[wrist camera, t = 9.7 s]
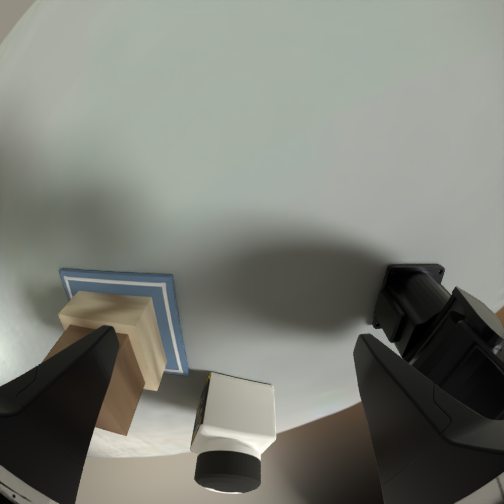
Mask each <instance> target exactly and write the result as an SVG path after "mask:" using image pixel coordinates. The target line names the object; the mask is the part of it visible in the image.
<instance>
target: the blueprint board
mask: <svg viewBox="0 0 504 504" xmlns="http://www.w3.org/2000/svg"><path fill="white" fill-rule="evenodd" d="M59 272H60V275H61V279H62V282H63V285H64V288H65V291H66V294H67V297H68V300H69V301H70V300H71V299H72V298H73V297H74V295H75V294H76V293H77V292H78V291H88V292H98V293H108V294H120V295H132V296H145V297H152V301H153V305H154V310H155V315H156V319H157V324H158V328H159V332H160V336H161V340H162V344H163V348H164V352H165V356H166V359H167V364H166V366H165V369H164V372H163V373H166V374H174V375H183V376H189V368H188V363H187V359H186V354H185V349H184V344H183V338H182V333H181V327H180V322H179V316H178V310H177V304H176V297H175V291H174V284H173V277H172V275H171V274H148V273H127V272H108V271H91V270H75V269H61V270H60V271H59Z"/></svg>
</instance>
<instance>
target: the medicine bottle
mask: <svg viewBox="0 0 504 504" xmlns="http://www.w3.org/2000/svg"><path fill="white" fill-rule="evenodd" d="M275 439H276V422H275V400H274V387H273V386H272V385H268V384H263V383H258V382H253V381H248V380H244V379H239V378H235V377H230V376H226V375H222V374H218V373H214V372H211V373H210V374H209V376H208V379H207V381H206V384H205V387H204V390H203V392H202V395H201V398H200V401H199V403H198V408H197V413H196V419H195V424H194V430H193V435H192V441H191V447H190V450H191V451H192V452H194V453H198V456H197V463H196V470H195V477H194V479H195V481H196V482H197V483H198V484H199V485H201V486H202V487H204V488H206V489H208V490H212V491H215V492H220V493H233V494H236V493H245V492H249V491H252V490H255V489H257V488H258V487H259V486H260V484H261V454H262V453H263V452H264V451H265V450H266V449H267V448H268V447H269V446H270V445H271V443H273V442H274V441H275Z"/></svg>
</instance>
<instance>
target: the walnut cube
mask: <svg viewBox="0 0 504 504" xmlns="http://www.w3.org/2000/svg"><path fill="white" fill-rule="evenodd" d="M94 330H96V329H91V328H86V327H80V326H75V325H69V326H68V328H67V329H66V330H65V332H64V333H63V334H62V336H61V337H60V338H59V340H58V341H57V342H56V344H55V345H54V346H53V348H52V349H51V350H50V352H49V353H48V355H47V356H46V357H45V359H44V360H43V362H44V361H45V360H47V359H49V358H50V357H52V356H53V355H55V354H57V353H58V352H60V351H62V350H63V349H65V348H66V347H68V346H70V345H71V344H73V343H74V342H76V341H78V340H79V339H81V338H83V337H84V336H86V335H88V334H89V333H91V332H92V331H94ZM116 334H117V337H118V340H119V344H120V346H119V351H118V355H117V358H116V362H115V366H114V370H113V374H112V378H111V381H110V384H109V387H108V390H107V392H106V395H105V398H104V401H103V404H102V407H101V410H100V413H99V416H98V419H97V422H96V425H95V427H97V428H100V429H103V430H107V431H110V432H114V433H117V434H121V435H125V436H127V433H128V430H129V427H130V424H131V422H132V419H133V416H134V413H135V410H136V407H137V404H138V402H139V399H140V396H141V393H142V391H143V388H144V385H145V381H144V378H143V376H142V373H141V370H140V368H139V365H138V362H137V359H136V357H135V354H134V351H133V348H132V345H131V342H130V339H129V336H128V334H122V333H116Z"/></svg>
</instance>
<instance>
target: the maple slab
mask: <svg viewBox="0 0 504 504" xmlns="http://www.w3.org/2000/svg"><path fill="white" fill-rule="evenodd" d="M58 316H59V318H60V321H61V323H62V325H63V328H64V330H66V329H67V328H68V326H69V325H75V326H80V327H86V328H91V329H97V328H99V327H101V326H102V325H110V326H113V327H114V329H115V331H116V333H122V334H128V336H129V339H130V342H131V345H132V348H133V351H134V354H135V357H136V359H137V362H138V365H139V368H140V370H141V373H142V376H143V378H144V381H145V385H144V388H143V389H147V390H153V391H158V388H159V384H160V381H161V378H162V375H163V372H164V369H165V366H166V364H167V359H166V356H165V352H164V348H163V344H162V340H161V336H160V332H159V328H158V324H157V319H156V315H155V310H154V305H153V301H152V297H145V296H132V295H120V294H108V293H98V292H88V291H78V292H77V293H76V294H75V295H74V297H73V298H72V299H71V300H70V301H69V302H68V303H67V304H66V305H65V307H64V308H63V309H62V310H61V311H60V312H59V313H58Z"/></svg>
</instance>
